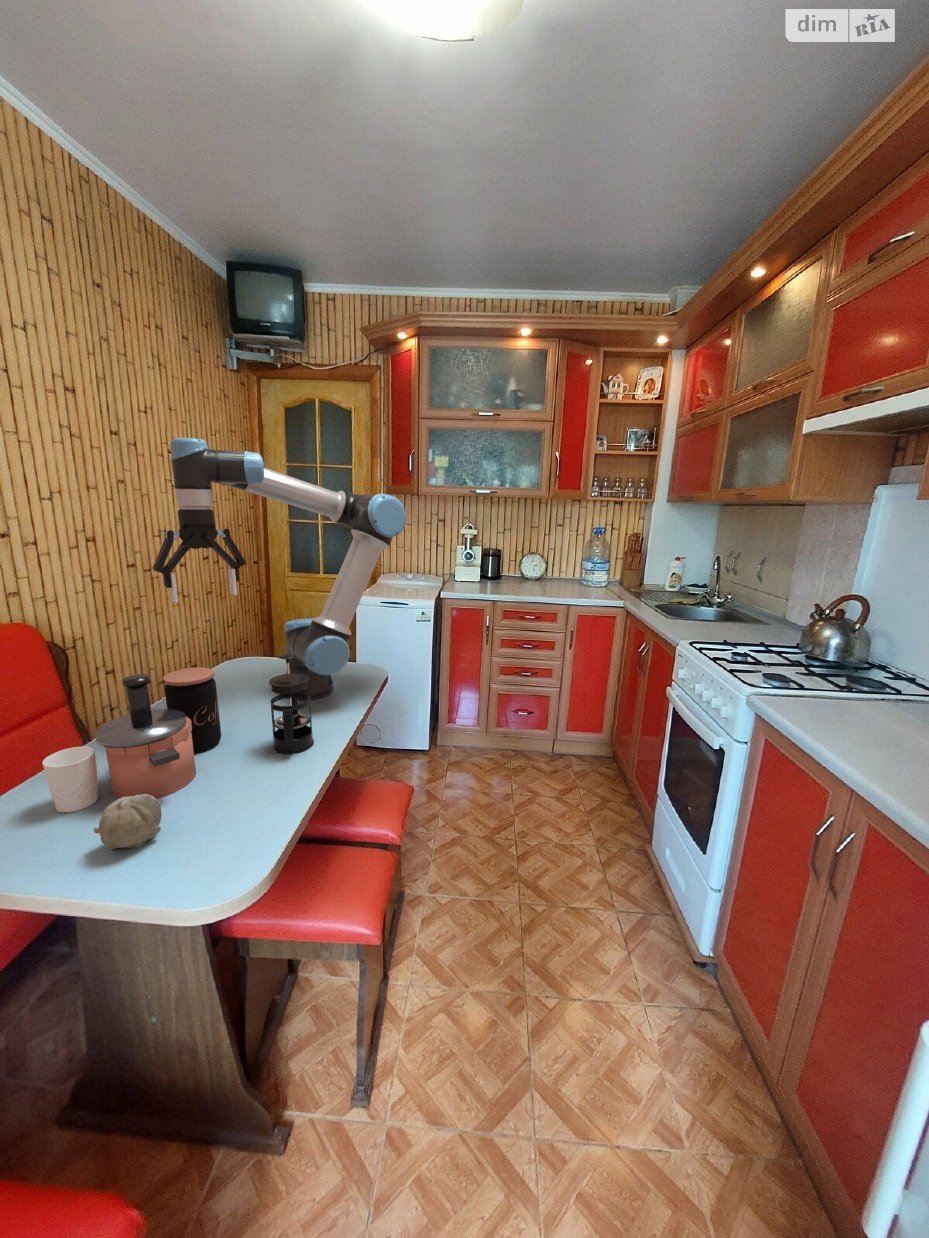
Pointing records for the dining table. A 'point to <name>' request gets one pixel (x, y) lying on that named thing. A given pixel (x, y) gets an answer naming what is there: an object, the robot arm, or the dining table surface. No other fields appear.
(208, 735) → the coffee jar
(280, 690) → the french press
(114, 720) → the lid
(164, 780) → the pot
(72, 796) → the white cup
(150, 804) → the garlic bulb
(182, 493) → the robot arm
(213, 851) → the dining table surface
